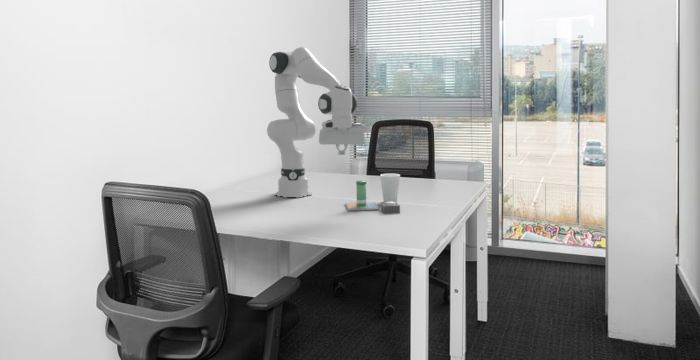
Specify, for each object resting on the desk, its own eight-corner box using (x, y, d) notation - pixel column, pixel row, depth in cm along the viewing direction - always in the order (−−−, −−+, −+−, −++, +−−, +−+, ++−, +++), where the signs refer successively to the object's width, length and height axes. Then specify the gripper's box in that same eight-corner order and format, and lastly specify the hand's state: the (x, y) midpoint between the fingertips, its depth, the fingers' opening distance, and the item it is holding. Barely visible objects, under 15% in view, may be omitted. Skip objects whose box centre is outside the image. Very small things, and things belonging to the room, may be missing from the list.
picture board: (345, 204, 253) (345, 203, 253) (374, 203, 255) (374, 202, 255) (348, 211, 239) (348, 209, 239) (379, 210, 240) (379, 208, 240)
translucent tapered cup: (382, 204, 254) (383, 176, 252) (378, 200, 263) (378, 173, 261) (402, 203, 256) (402, 176, 253) (396, 199, 264) (397, 173, 262)
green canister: (355, 204, 250) (355, 180, 248) (365, 204, 250) (365, 180, 248) (357, 206, 245) (356, 182, 243) (367, 206, 246) (366, 181, 244)
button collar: (381, 209, 242) (381, 203, 241) (396, 209, 242) (396, 202, 242) (383, 213, 235) (383, 206, 234) (399, 212, 235) (399, 205, 235)
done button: (384, 209, 240) (384, 201, 240) (394, 208, 241) (394, 201, 240) (386, 211, 236) (386, 203, 236) (396, 210, 237) (396, 203, 236)
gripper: (364, 122, 242) (363, 153, 245) (318, 122, 240) (318, 153, 242) (366, 124, 236) (365, 155, 238) (319, 123, 233) (319, 155, 236)
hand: (341, 154), depth 240 cm, fingers closed
